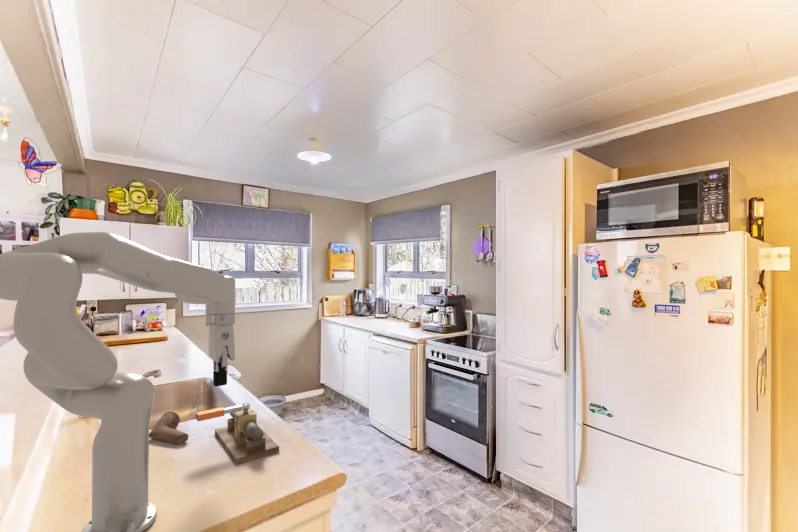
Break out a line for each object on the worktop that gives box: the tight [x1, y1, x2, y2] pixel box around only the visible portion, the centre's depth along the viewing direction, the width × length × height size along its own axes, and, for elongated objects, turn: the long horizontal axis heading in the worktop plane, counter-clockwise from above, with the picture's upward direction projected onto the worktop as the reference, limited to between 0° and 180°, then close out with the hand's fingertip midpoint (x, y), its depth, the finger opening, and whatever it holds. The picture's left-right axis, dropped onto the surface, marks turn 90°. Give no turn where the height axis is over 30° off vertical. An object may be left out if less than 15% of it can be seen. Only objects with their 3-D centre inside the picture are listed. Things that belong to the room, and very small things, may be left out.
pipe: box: [149, 411, 189, 446], centre depth 121 cm, size 6×17×10 cm
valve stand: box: [214, 408, 280, 465], centre depth 117 cm, size 24×12×10 cm, turn 39°
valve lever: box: [195, 402, 251, 422], centre depth 113 cm, size 3×15×2 cm, turn 129°
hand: (220, 384), depth 107 cm, fingers closed
